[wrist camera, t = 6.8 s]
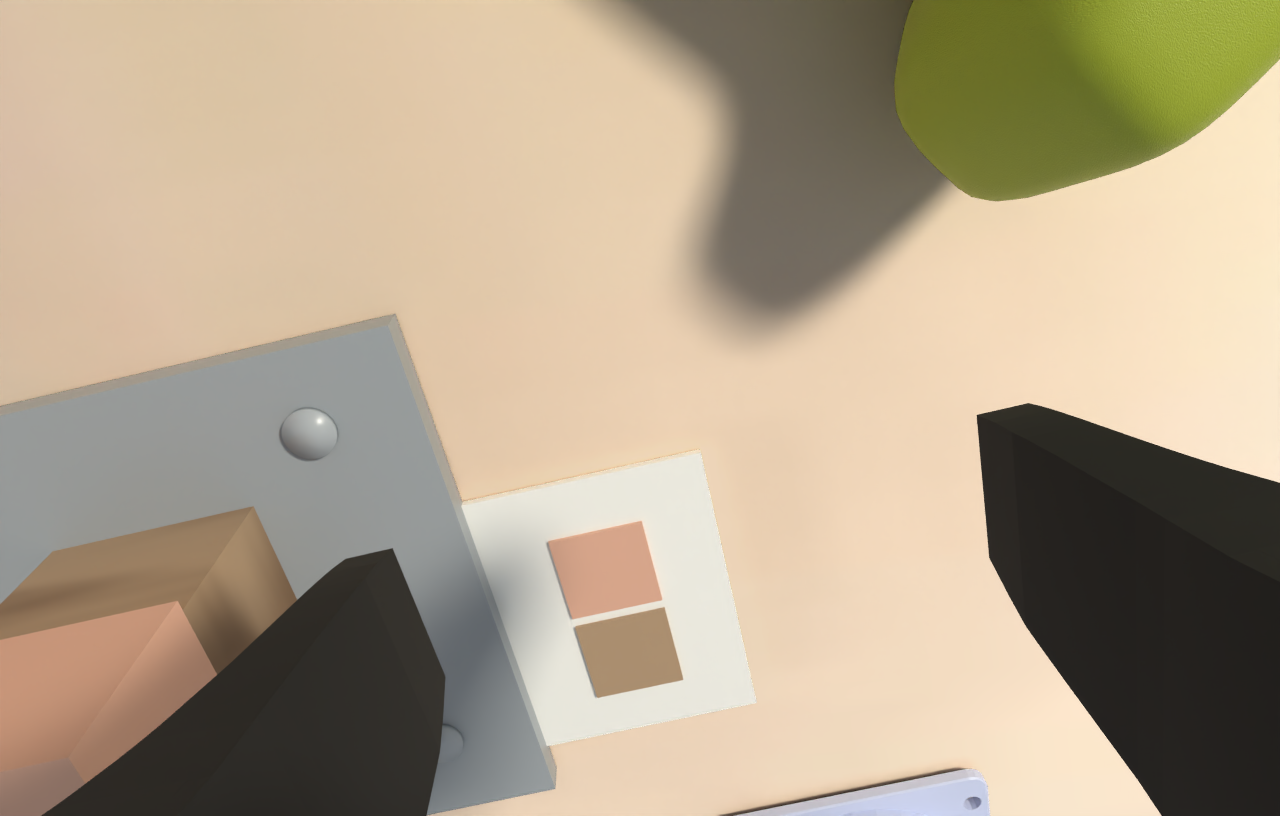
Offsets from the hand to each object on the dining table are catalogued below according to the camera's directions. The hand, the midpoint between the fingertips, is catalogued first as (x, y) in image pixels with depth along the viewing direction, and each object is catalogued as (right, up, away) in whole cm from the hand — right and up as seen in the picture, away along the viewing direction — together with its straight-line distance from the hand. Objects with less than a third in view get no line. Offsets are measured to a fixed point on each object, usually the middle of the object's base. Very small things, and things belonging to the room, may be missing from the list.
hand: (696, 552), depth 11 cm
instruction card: (-1, -3, +13) cm, 13 cm away
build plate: (-11, -4, +13) cm, 17 cm away
